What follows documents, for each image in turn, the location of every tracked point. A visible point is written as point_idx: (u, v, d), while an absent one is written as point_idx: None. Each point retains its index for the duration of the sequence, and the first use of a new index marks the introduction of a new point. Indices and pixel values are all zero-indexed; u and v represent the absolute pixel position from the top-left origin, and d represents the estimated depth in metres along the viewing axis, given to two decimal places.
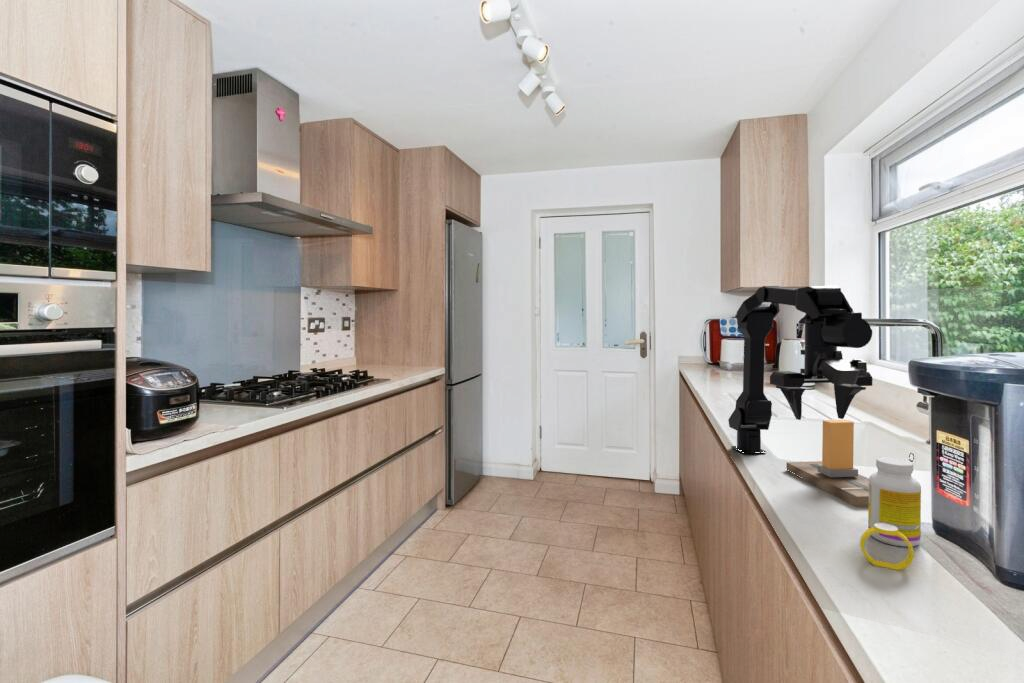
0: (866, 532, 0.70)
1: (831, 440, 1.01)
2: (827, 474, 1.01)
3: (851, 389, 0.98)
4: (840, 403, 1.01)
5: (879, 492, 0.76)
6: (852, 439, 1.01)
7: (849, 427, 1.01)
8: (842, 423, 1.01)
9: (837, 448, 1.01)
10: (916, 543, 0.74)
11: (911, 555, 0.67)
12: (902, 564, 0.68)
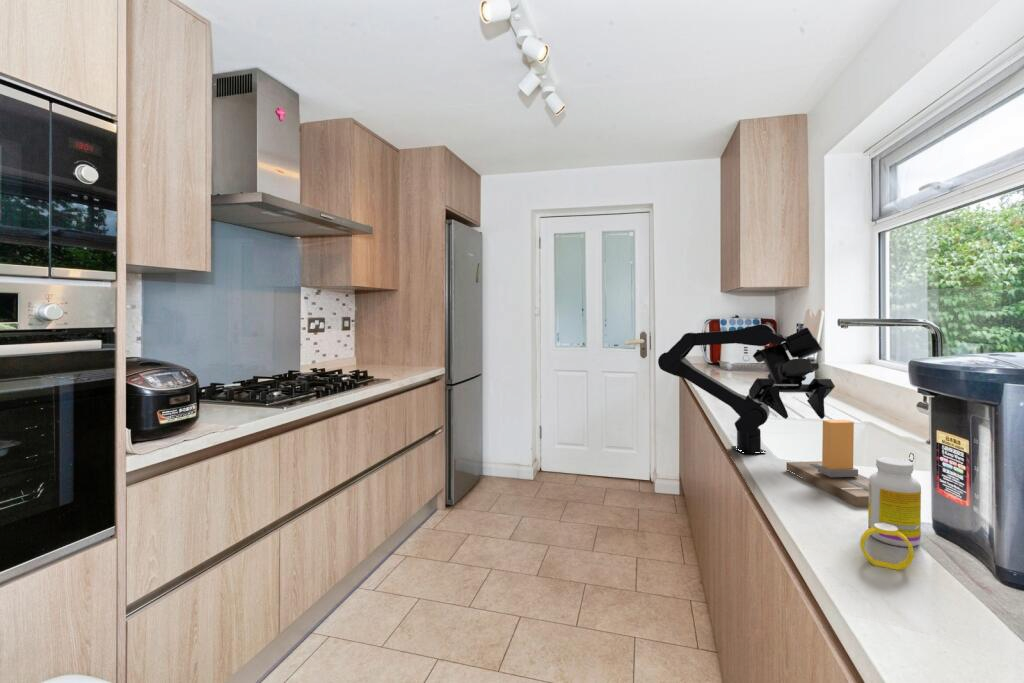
0: (866, 532, 0.70)
1: (831, 440, 1.01)
2: (827, 474, 1.01)
3: (817, 389, 1.15)
4: (816, 407, 1.15)
5: (879, 492, 0.76)
6: (852, 439, 1.01)
7: (849, 427, 1.01)
8: (842, 423, 1.01)
9: (837, 448, 1.01)
10: (916, 543, 0.74)
11: (911, 555, 0.67)
12: (902, 564, 0.68)
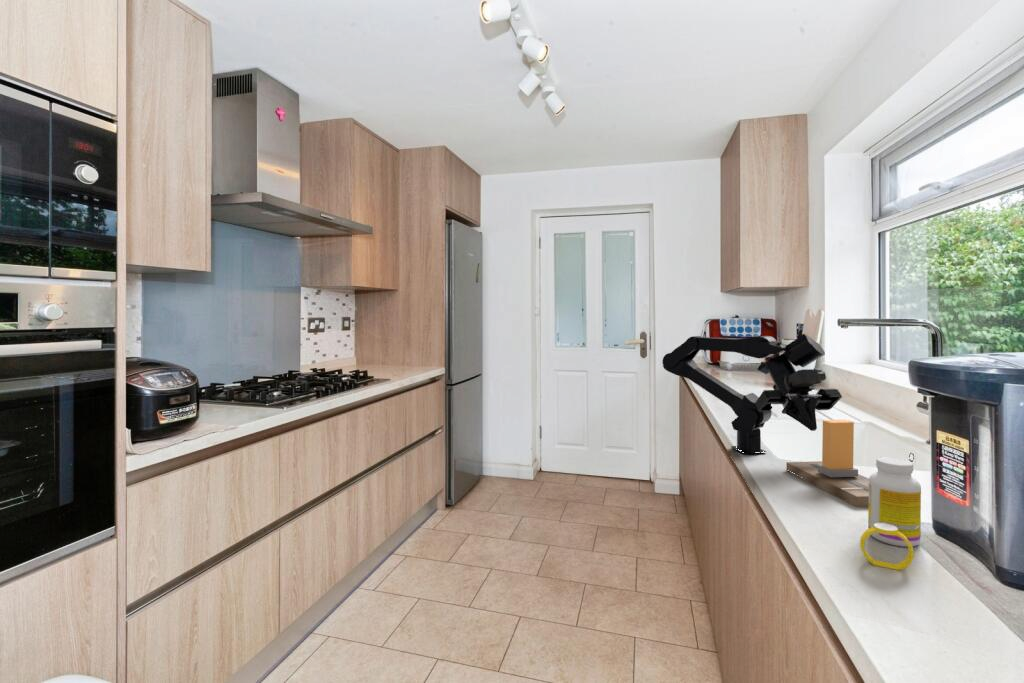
0: (866, 532, 0.70)
1: (831, 440, 1.01)
2: (827, 474, 1.01)
3: (808, 400, 1.13)
4: None
5: (879, 492, 0.76)
6: (852, 439, 1.01)
7: (849, 427, 1.01)
8: (842, 423, 1.01)
9: (837, 448, 1.01)
10: (916, 543, 0.74)
11: (911, 555, 0.67)
12: (902, 564, 0.68)
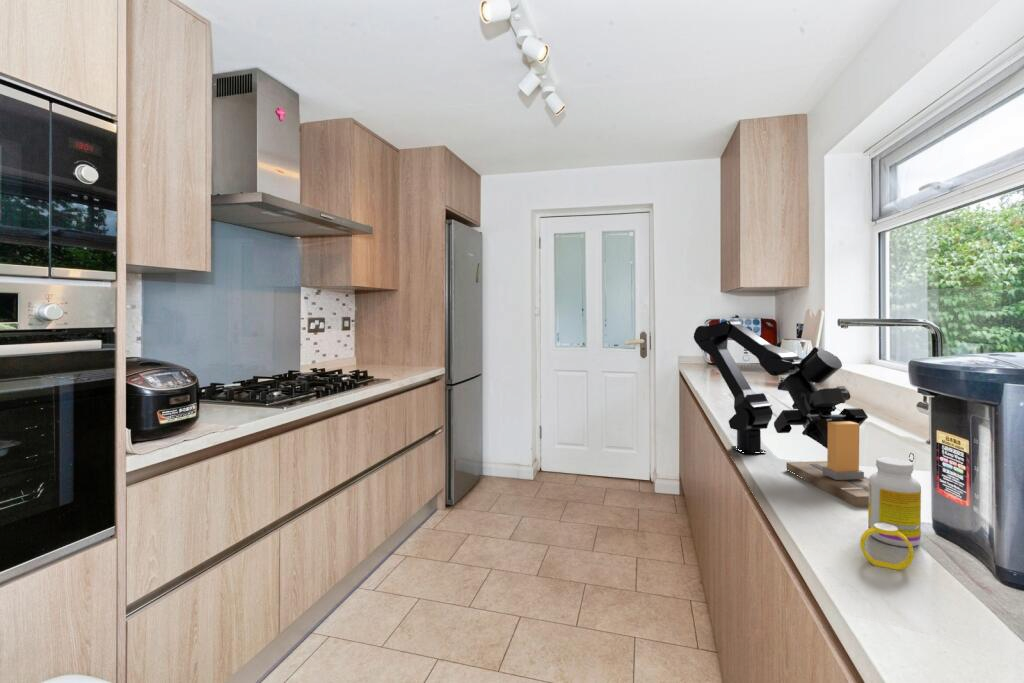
0: (866, 532, 0.70)
1: (836, 442, 0.99)
2: (832, 476, 1.00)
3: None
4: None
5: (879, 492, 0.76)
6: (858, 441, 0.99)
7: (855, 429, 0.99)
8: (848, 425, 0.99)
9: (843, 450, 0.99)
10: (916, 543, 0.74)
11: (911, 555, 0.67)
12: (902, 564, 0.68)
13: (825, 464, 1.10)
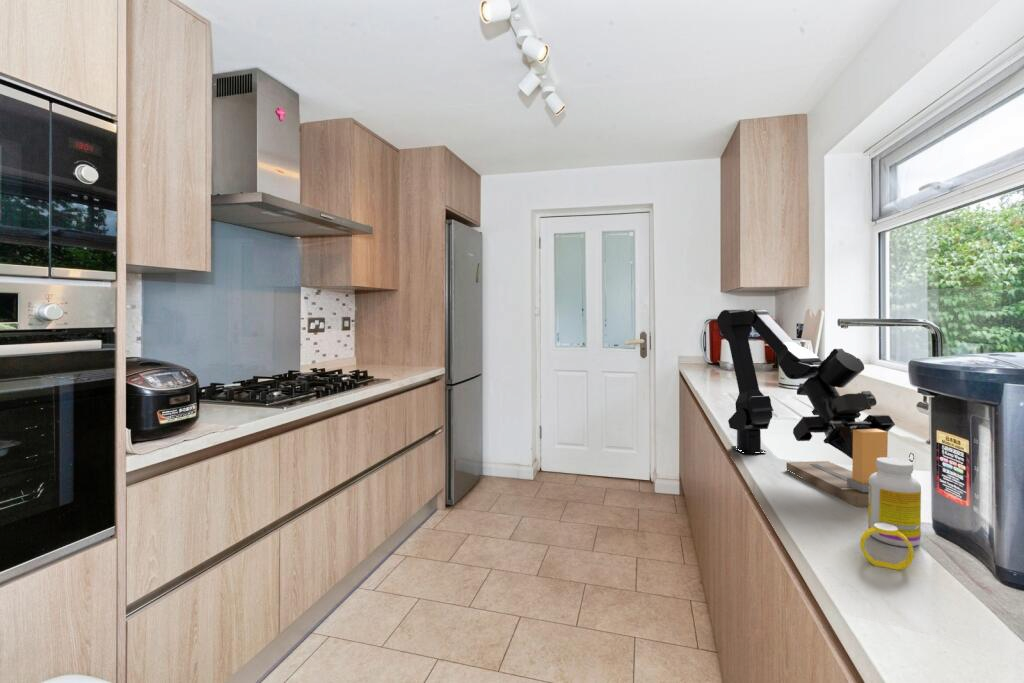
0: (866, 532, 0.70)
1: (863, 451, 0.92)
2: (858, 488, 0.93)
3: None
4: None
5: (879, 492, 0.76)
6: (886, 450, 0.92)
7: (883, 437, 0.92)
8: (875, 433, 0.92)
9: (870, 460, 0.92)
10: (916, 543, 0.74)
11: (911, 555, 0.67)
12: (902, 564, 0.68)
13: (825, 464, 1.10)
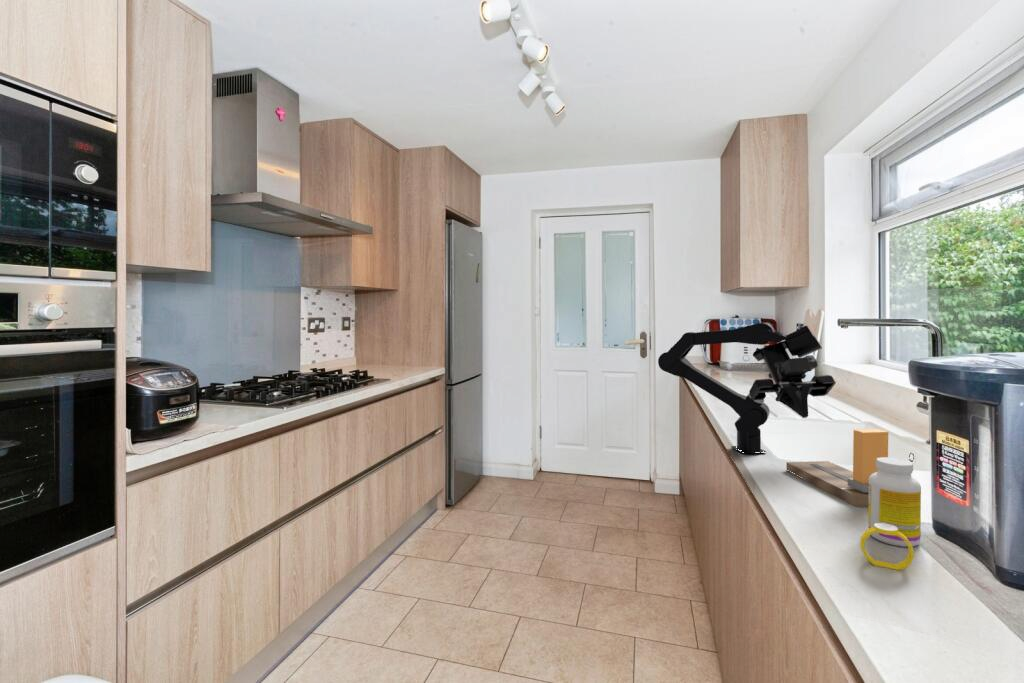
0: (866, 532, 0.70)
1: (864, 452, 0.92)
2: (859, 489, 0.92)
3: (800, 388, 1.15)
4: None
5: (879, 492, 0.76)
6: (886, 450, 0.92)
7: (883, 437, 0.92)
8: (876, 433, 0.92)
9: (870, 460, 0.92)
10: (916, 543, 0.74)
11: (911, 555, 0.67)
12: (902, 564, 0.68)
13: (825, 464, 1.10)
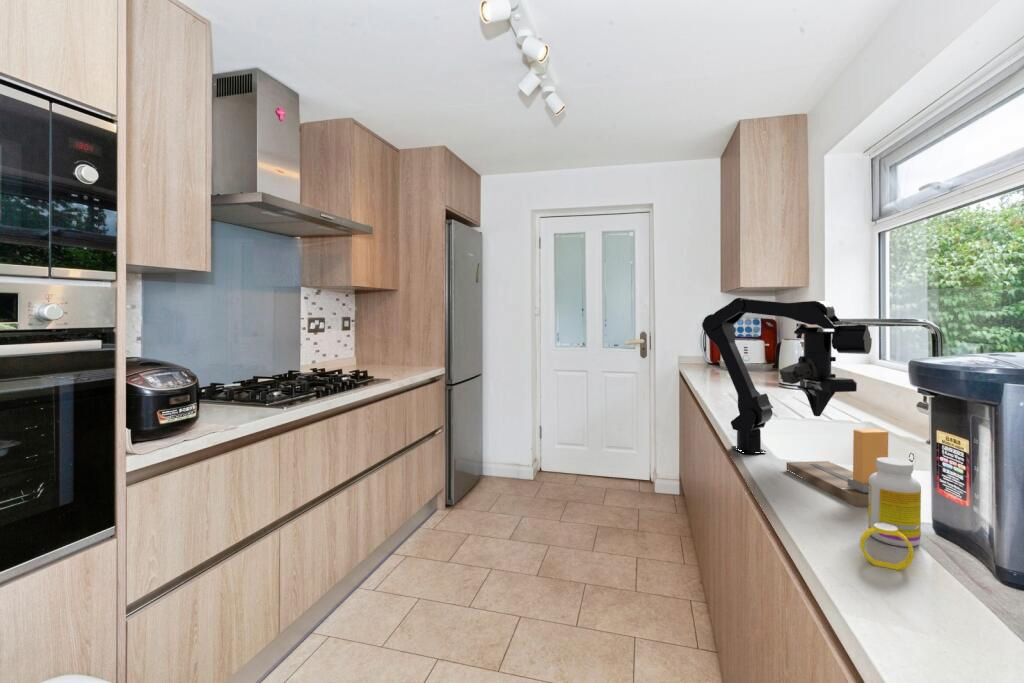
0: (866, 532, 0.70)
1: (864, 452, 0.92)
2: (859, 489, 0.92)
3: None
4: None
5: (879, 492, 0.76)
6: (886, 450, 0.92)
7: (883, 437, 0.92)
8: (876, 433, 0.92)
9: (870, 460, 0.92)
10: (916, 543, 0.74)
11: (911, 555, 0.67)
12: (902, 564, 0.68)
13: (825, 464, 1.10)
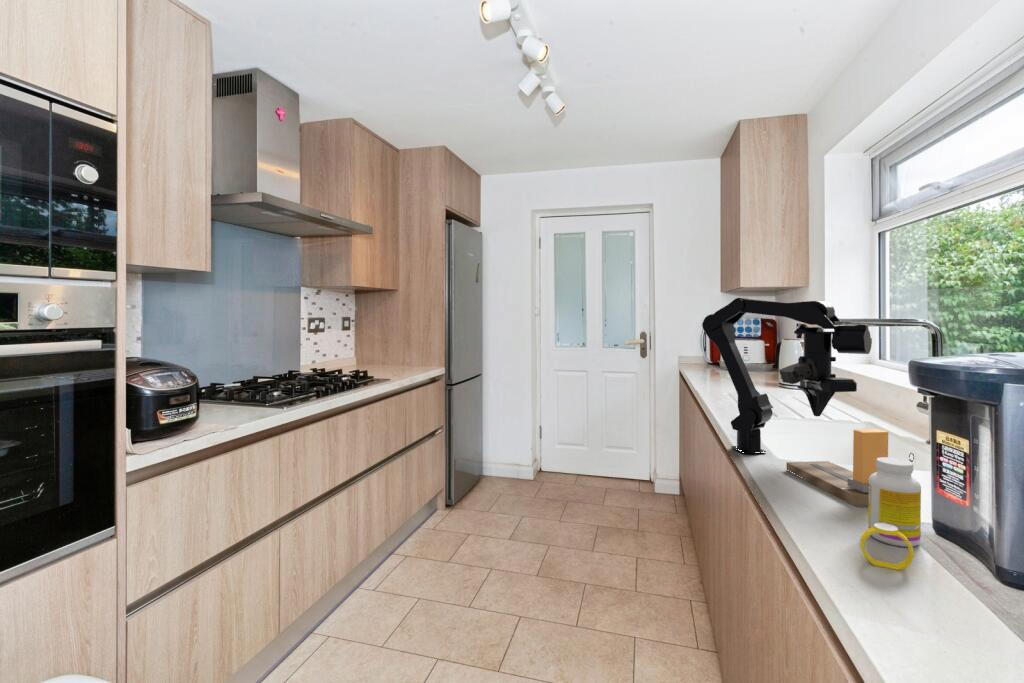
0: (866, 532, 0.70)
1: (864, 452, 0.92)
2: (859, 489, 0.92)
3: None
4: None
5: (879, 492, 0.76)
6: (886, 450, 0.92)
7: (883, 437, 0.92)
8: (876, 433, 0.92)
9: (870, 460, 0.92)
10: (916, 543, 0.74)
11: (911, 555, 0.67)
12: (902, 564, 0.68)
13: (825, 464, 1.10)
